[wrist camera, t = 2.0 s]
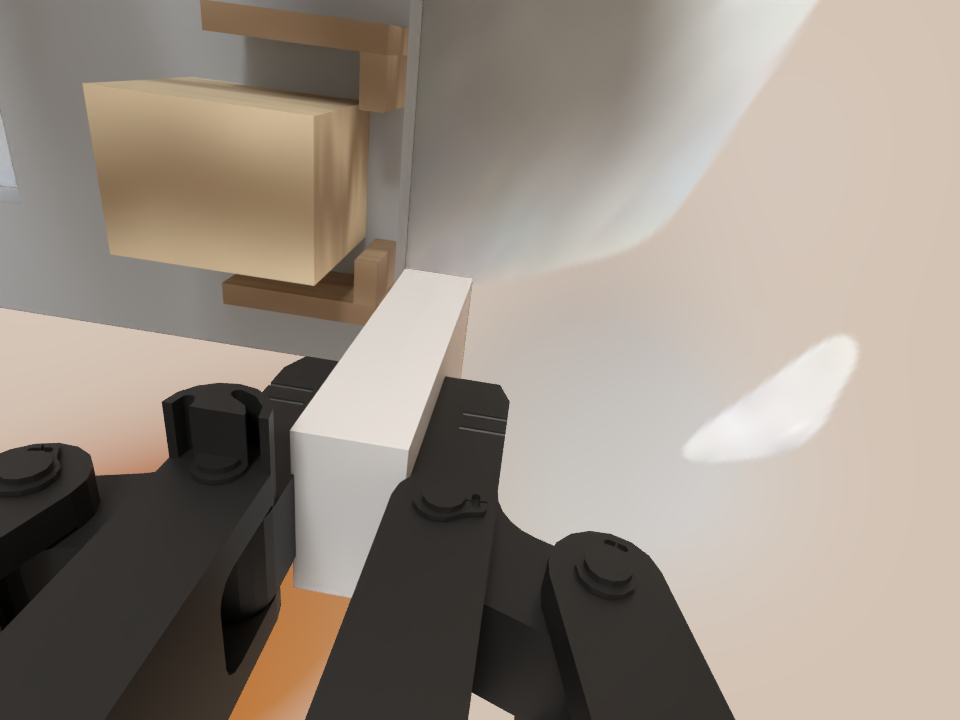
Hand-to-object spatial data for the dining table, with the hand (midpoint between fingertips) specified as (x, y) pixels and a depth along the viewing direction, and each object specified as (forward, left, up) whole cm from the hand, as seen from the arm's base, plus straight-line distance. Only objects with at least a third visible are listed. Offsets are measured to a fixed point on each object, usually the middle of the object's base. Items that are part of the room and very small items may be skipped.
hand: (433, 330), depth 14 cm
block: (0, -10, -16) cm, 18 cm away
